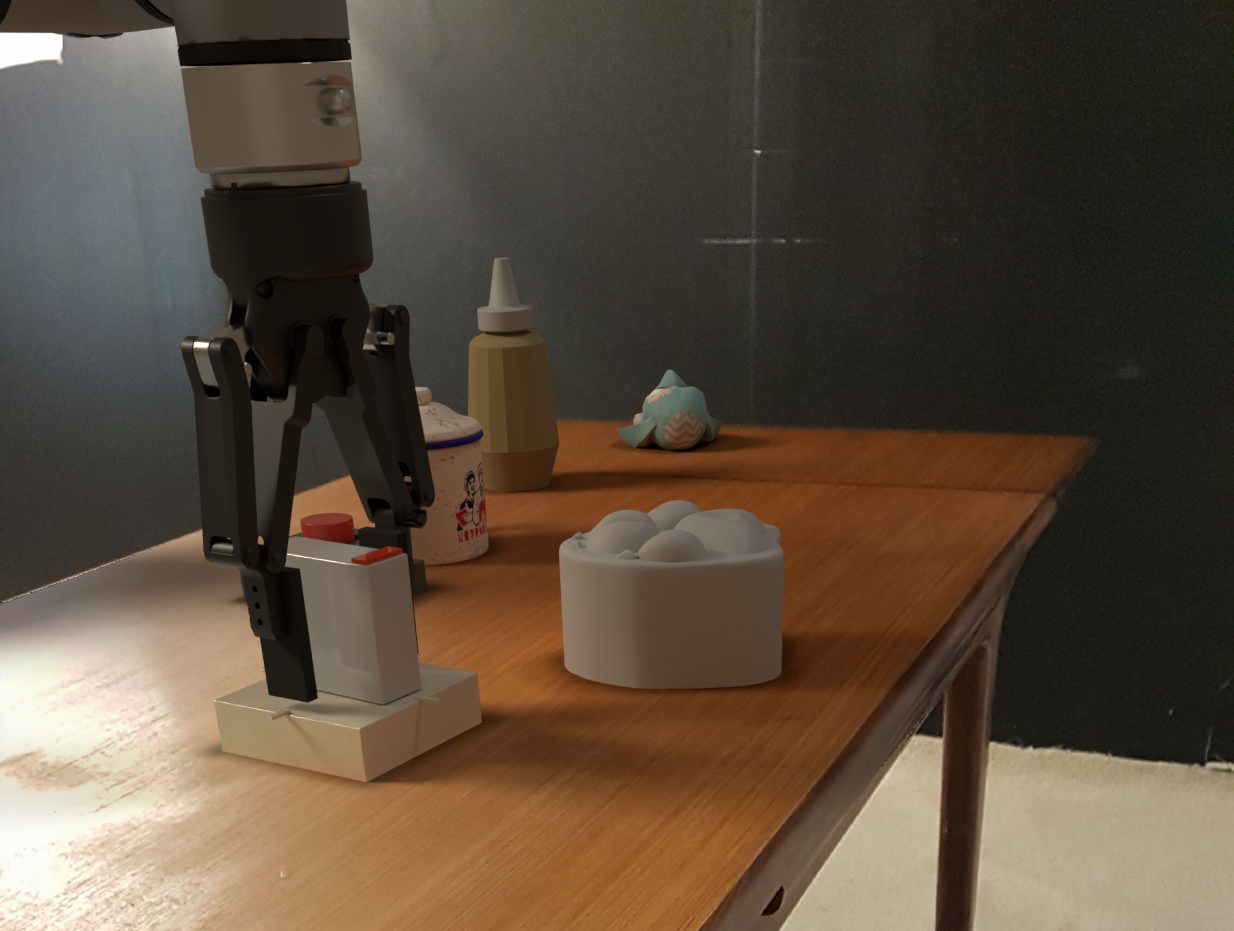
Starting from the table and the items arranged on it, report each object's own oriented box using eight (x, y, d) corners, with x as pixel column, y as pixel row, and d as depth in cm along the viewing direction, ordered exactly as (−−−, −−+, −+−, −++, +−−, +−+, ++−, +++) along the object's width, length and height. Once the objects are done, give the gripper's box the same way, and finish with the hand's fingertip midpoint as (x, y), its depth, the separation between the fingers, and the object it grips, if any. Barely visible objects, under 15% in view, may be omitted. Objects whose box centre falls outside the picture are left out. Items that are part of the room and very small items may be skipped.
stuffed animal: (706, 370, 157) (738, 361, 146) (710, 448, 160) (741, 445, 149) (601, 378, 155) (624, 369, 144) (606, 456, 158) (630, 453, 147)
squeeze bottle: (508, 501, 134) (492, 264, 125) (452, 488, 140) (432, 260, 130) (580, 486, 139) (570, 256, 129) (523, 473, 144) (509, 251, 134)
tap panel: (193, 757, 84) (182, 700, 83) (341, 691, 93) (334, 638, 91) (370, 797, 79) (362, 736, 77) (510, 722, 87) (506, 666, 86)
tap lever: (274, 681, 85) (253, 543, 81) (313, 665, 87) (294, 530, 83) (383, 705, 81) (366, 561, 77) (422, 689, 83) (407, 548, 79)
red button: (292, 548, 108) (288, 521, 107) (327, 536, 111) (323, 510, 110) (332, 553, 106) (329, 526, 105) (366, 541, 109) (363, 515, 108)
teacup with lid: (485, 567, 116) (472, 396, 110) (363, 570, 116) (343, 400, 110) (501, 529, 126) (489, 371, 120) (388, 532, 126) (371, 374, 120)
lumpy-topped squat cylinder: (783, 689, 90) (786, 533, 86) (557, 693, 91) (549, 539, 86) (776, 636, 99) (779, 492, 94) (571, 641, 100) (564, 498, 95)
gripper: (177, 193, 62) (266, 745, 75) (481, 164, 77) (514, 631, 89) (49, 194, 66) (154, 721, 78) (362, 166, 80) (410, 615, 93)
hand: (345, 673), depth 84 cm, fingers open, 8 cm apart
